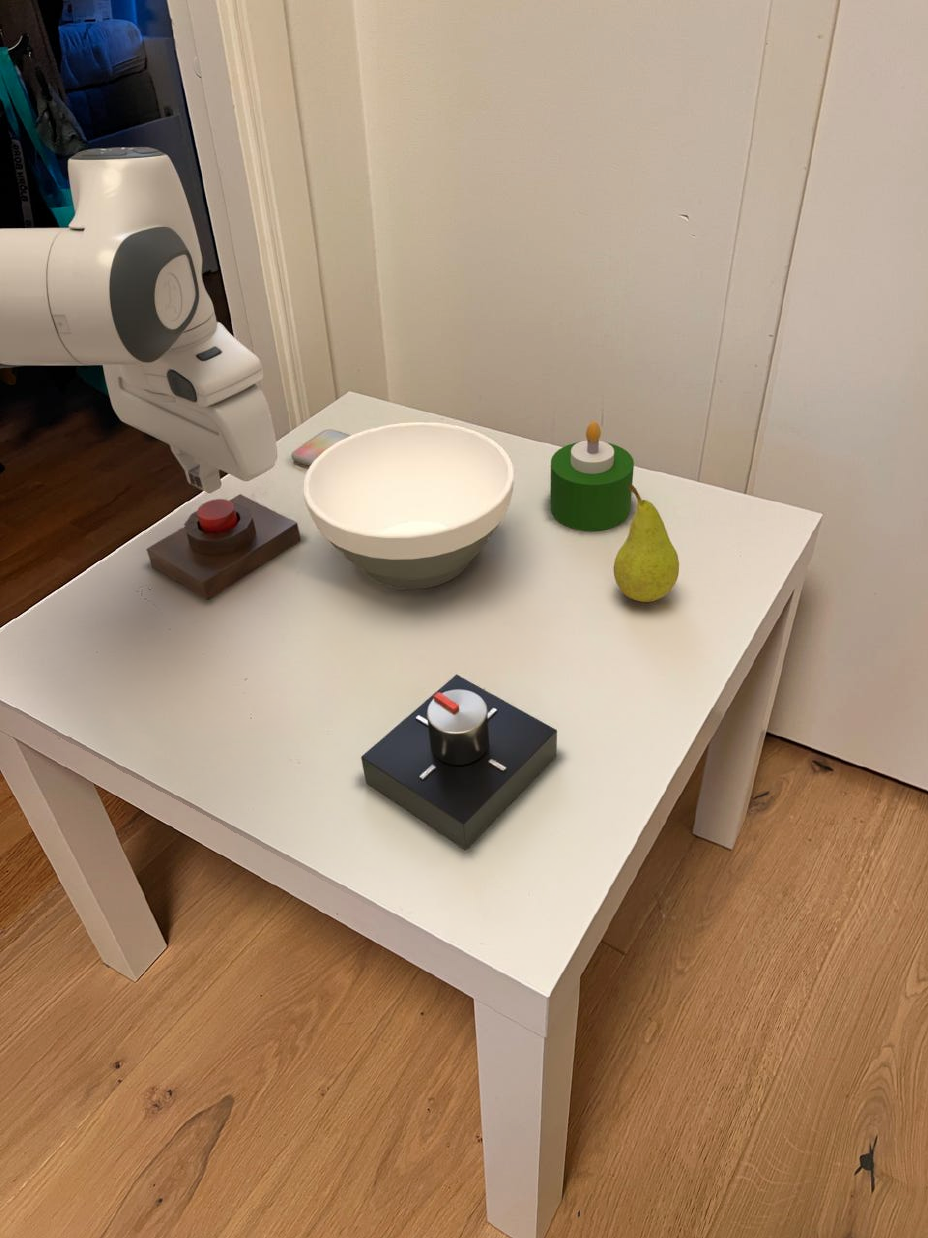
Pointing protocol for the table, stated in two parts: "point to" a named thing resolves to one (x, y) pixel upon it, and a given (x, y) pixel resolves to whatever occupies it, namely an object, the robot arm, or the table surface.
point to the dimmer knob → (458, 726)
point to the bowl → (410, 500)
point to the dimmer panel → (460, 767)
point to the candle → (591, 483)
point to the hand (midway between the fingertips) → (205, 486)
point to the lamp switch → (223, 548)
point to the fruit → (646, 556)
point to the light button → (217, 516)
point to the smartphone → (317, 446)
